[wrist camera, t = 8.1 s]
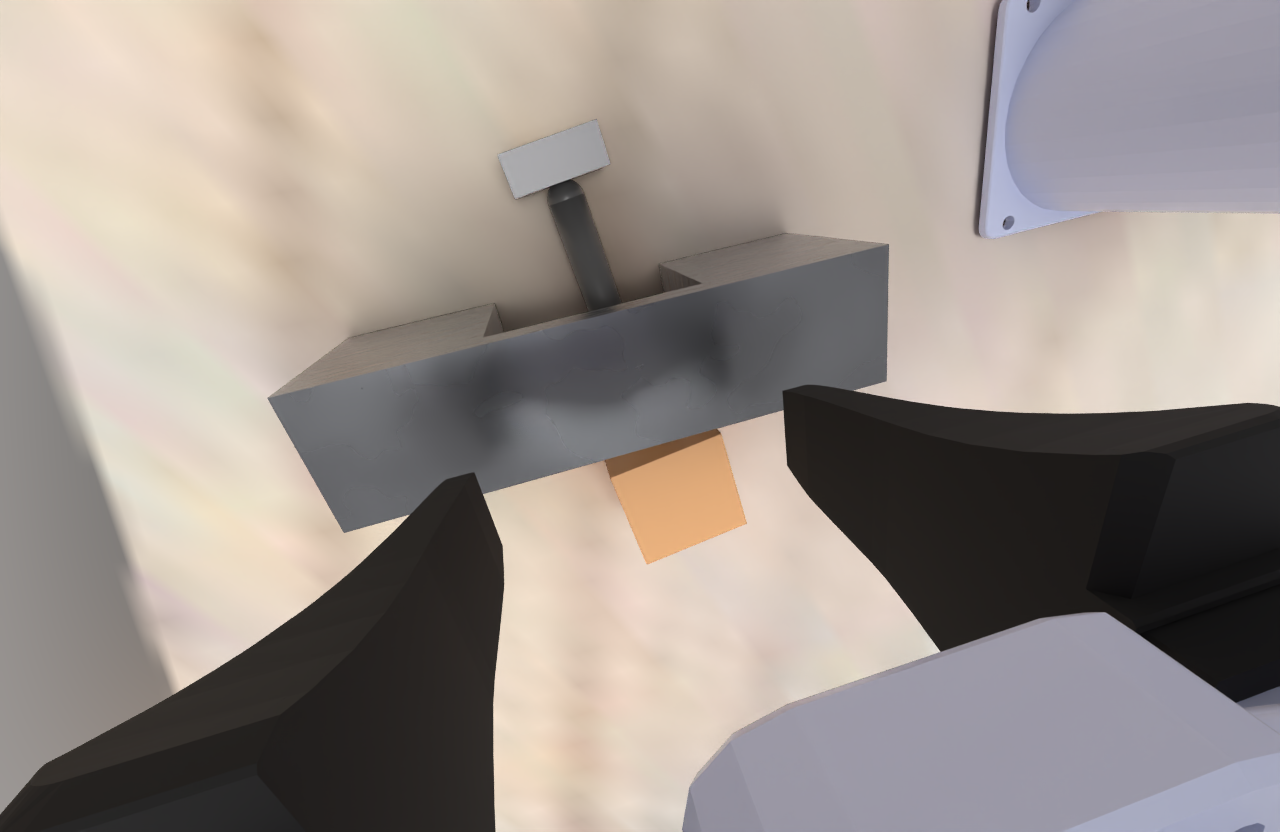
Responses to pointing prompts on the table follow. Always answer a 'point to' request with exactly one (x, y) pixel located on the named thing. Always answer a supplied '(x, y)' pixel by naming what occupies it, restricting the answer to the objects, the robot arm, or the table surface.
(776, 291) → the housing
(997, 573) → the robot arm
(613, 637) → the table surface
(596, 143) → the plug
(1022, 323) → the table surface
